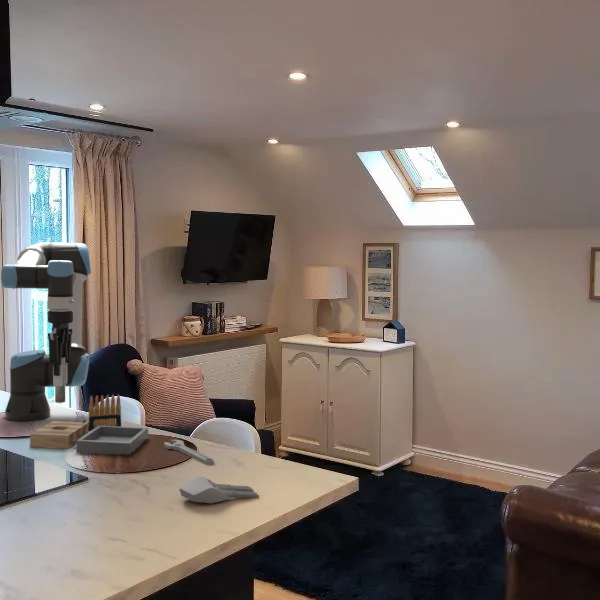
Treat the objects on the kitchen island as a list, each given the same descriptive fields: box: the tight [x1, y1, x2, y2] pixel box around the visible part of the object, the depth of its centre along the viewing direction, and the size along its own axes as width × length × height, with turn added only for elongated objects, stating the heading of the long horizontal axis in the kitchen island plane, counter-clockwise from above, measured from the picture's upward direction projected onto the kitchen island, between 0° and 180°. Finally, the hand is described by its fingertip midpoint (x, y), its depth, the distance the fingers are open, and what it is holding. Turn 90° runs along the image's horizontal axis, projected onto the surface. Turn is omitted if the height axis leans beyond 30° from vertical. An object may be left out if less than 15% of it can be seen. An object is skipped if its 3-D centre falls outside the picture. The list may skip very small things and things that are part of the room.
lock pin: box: [54, 357, 66, 404], centre depth 222 cm, size 3×3×14 cm
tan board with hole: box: [29, 420, 89, 450], centre depth 223 cm, size 16×12×4 cm
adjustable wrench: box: [163, 439, 215, 466], centre depth 213 cm, size 25×6×2 cm, turn 34°
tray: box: [75, 426, 149, 456], centre depth 220 cm, size 18×16×4 cm
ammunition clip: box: [87, 393, 122, 432], centre depth 237 cm, size 11×2×12 cm, turn 113°
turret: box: [179, 475, 260, 504], centre depth 177 cm, size 10×20×5 cm, turn 113°
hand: (60, 384), depth 222 cm, fingers closed on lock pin, 3 cm apart
